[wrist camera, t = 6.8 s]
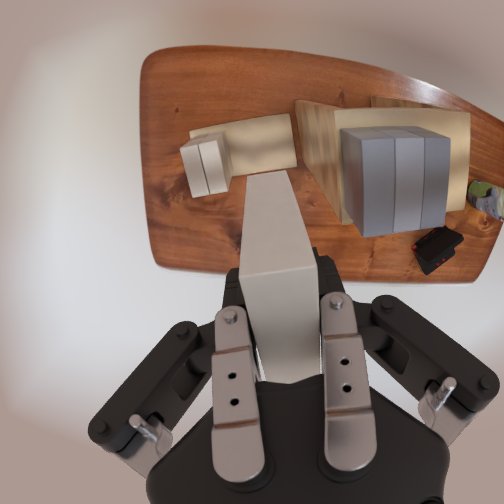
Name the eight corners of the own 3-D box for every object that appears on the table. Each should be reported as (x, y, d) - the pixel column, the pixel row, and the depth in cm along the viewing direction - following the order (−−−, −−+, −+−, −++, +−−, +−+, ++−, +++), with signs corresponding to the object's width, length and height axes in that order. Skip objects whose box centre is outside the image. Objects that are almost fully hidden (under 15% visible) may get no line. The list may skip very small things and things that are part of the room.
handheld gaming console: (422, 273, 56) (441, 301, 48) (404, 236, 52) (426, 264, 43) (453, 250, 53) (475, 275, 45) (438, 211, 48) (465, 235, 40)
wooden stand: (293, 100, 39) (354, 116, 15) (376, 95, 38) (505, 124, 13) (302, 159, 45) (358, 256, 20) (380, 152, 43) (492, 233, 19)
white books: (189, 130, 42) (171, 142, 33) (289, 112, 41) (298, 119, 32) (201, 181, 47) (188, 205, 38) (296, 166, 45) (307, 186, 36)
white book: (247, 175, 17) (237, 276, 9) (285, 169, 17) (317, 265, 8) (264, 268, 21) (269, 392, 12) (297, 263, 20) (320, 385, 12)
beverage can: (460, 201, 47) (494, 228, 37) (470, 169, 43) (507, 191, 33) (478, 207, 47) (510, 233, 37) (487, 176, 43) (523, 199, 33)
